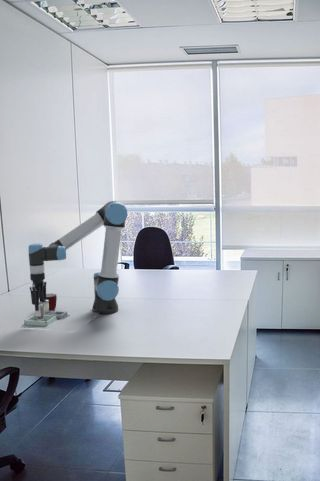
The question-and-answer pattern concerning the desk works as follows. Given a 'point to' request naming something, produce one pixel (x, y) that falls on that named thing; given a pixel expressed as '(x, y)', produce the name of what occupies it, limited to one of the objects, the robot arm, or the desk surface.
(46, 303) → the fuse
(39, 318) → the fuse
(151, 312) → the desk surface
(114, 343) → the desk surface
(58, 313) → the block
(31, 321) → the tray
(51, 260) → the robot arm
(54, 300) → the mug
